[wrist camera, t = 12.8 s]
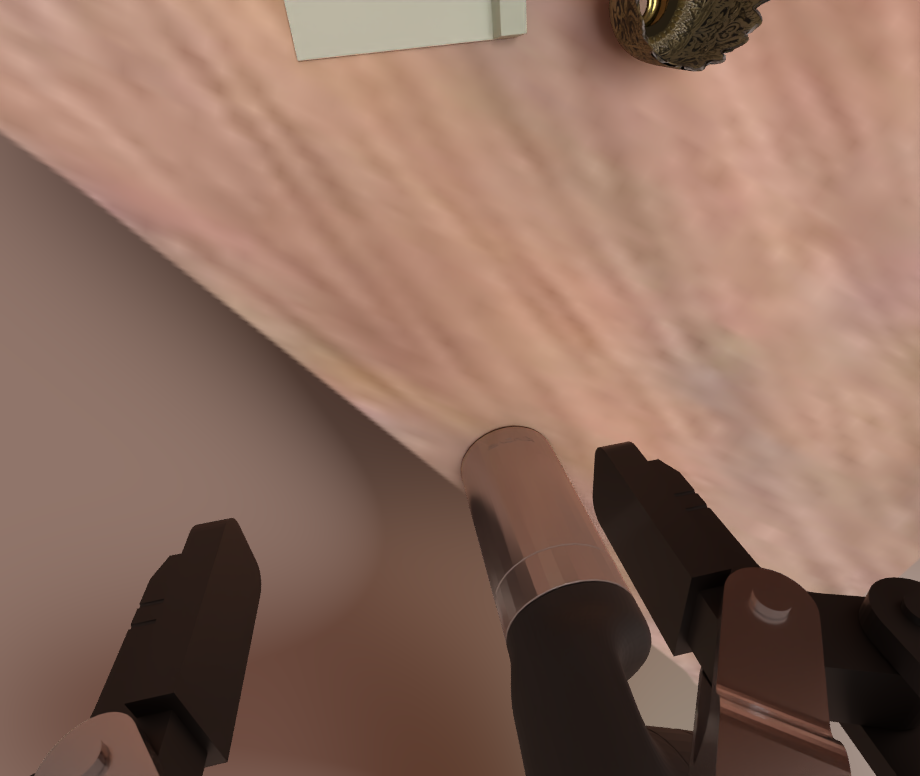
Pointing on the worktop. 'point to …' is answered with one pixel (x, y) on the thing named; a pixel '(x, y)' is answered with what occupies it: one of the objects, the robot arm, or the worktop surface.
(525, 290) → the worktop surface
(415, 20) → the corner tray
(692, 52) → the cup
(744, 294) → the worktop surface
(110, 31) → the worktop surface
